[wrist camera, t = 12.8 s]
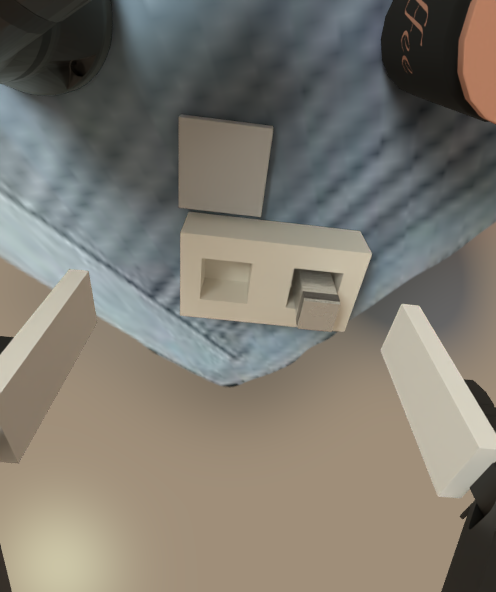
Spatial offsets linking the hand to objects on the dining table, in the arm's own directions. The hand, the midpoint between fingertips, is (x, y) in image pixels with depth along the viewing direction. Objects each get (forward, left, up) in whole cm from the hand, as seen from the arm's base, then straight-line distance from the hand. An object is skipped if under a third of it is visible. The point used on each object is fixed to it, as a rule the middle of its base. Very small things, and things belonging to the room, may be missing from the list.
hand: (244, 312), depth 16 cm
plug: (+9, -15, -30) cm, 35 cm away
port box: (+4, -15, -31) cm, 34 cm away
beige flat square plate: (-3, -3, -31) cm, 31 cm away
